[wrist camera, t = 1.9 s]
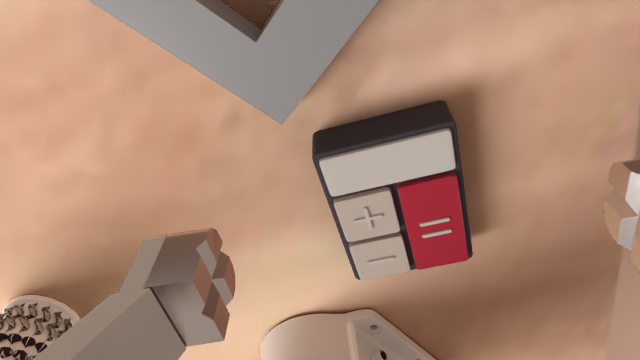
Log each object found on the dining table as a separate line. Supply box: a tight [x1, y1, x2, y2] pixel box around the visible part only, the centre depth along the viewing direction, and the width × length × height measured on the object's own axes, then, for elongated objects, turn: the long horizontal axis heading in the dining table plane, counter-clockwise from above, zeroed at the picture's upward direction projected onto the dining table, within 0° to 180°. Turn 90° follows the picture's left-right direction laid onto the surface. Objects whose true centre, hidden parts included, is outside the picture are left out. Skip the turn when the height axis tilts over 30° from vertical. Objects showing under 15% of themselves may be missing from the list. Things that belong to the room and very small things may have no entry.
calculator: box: [312, 101, 473, 280], centre depth 40 cm, size 11×4×15 cm
